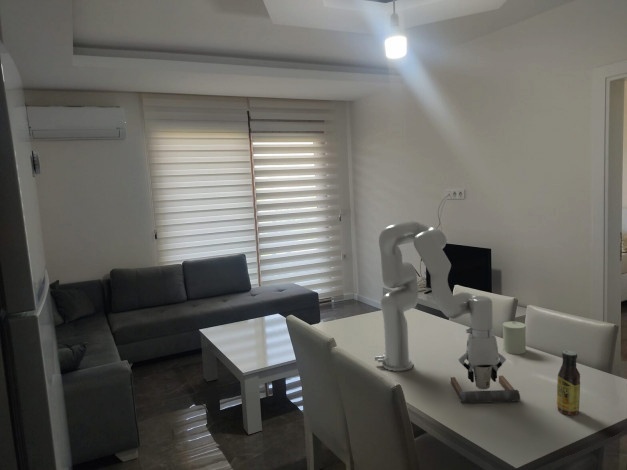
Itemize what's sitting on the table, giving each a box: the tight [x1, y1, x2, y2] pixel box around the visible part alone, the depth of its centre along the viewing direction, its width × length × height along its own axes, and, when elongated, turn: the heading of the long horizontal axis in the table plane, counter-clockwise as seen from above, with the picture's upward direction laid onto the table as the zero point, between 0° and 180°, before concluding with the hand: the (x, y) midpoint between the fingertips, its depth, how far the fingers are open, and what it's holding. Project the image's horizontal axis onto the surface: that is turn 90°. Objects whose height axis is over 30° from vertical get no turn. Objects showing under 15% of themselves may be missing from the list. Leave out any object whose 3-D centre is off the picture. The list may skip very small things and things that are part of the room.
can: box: [502, 320, 527, 355], centre depth 191 cm, size 9×9×12 cm
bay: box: [450, 375, 521, 404], centre depth 155 cm, size 19×16×4 cm
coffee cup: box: [473, 365, 492, 390], centre depth 156 cm, size 7×7×10 cm
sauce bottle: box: [556, 349, 581, 416], centre depth 139 cm, size 7×6×20 cm
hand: (482, 380), depth 156 cm, fingers closed on coffee cup, 7 cm apart
